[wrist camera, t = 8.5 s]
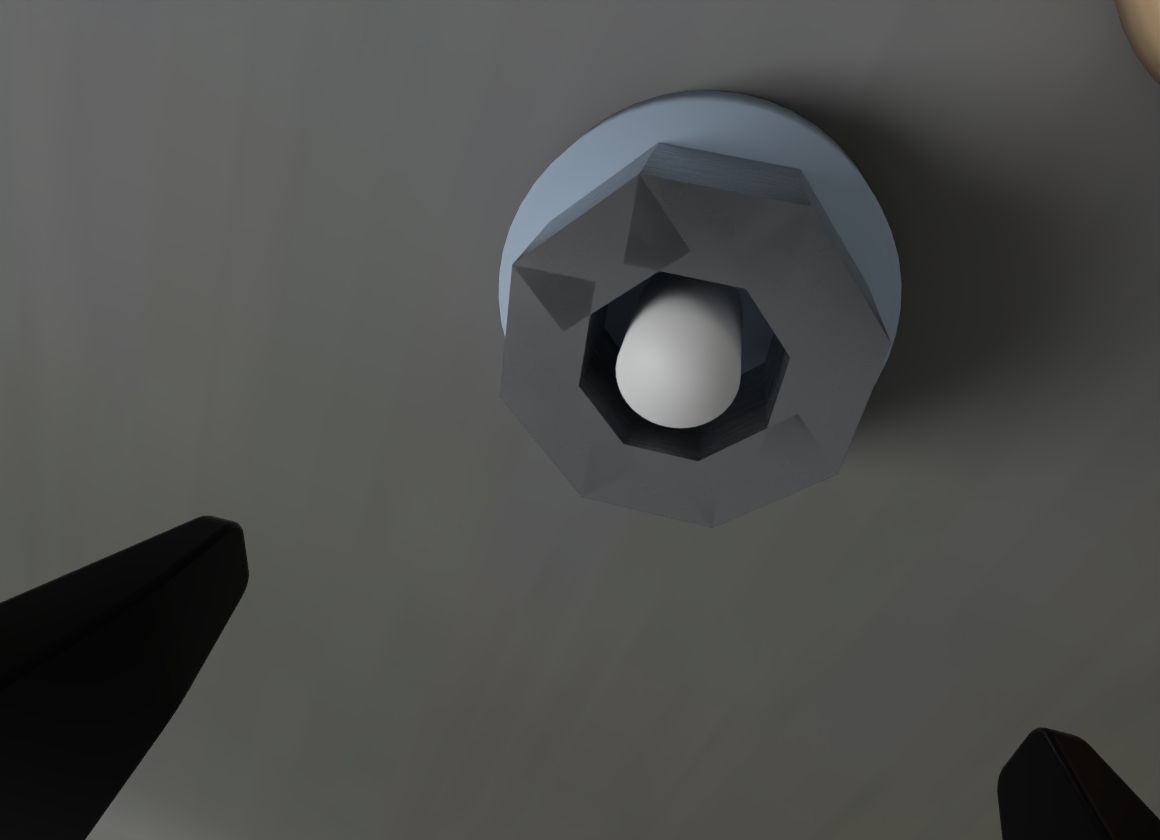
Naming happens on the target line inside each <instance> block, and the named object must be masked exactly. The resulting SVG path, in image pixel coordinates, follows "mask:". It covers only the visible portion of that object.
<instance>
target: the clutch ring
mask: <svg viewBox="0 0 1160 840" xmlns="http://www.w3.org/2000/svg"><path fill="white" fill-rule="evenodd" d="M659 271H662V272H666V273H671V274H676V275H681V276H686V277H691V278H696V279H700V280H705V281H710V282H715V283H720V284H725V285H729V286H734V287H739V288H744V289H746V290H747V291H748V293H749V294H750V296H751V297H752V299H753V300H754V302H755V304H756V305H757V307H758V308H759V310H760V311H761V313H762V314H763V316H764V317H765V319H766V321H767V322H768V324H769V325H770V327H771V328H772V330H773V331H774V334H773V337H772V340H771V344H770V347H769V350H768V353H767V356H766V360H765V362H764V363H762V364H760V365H758V366H757V367H755V368H753V369H751V370H749V371H747V372H745V373H743V374H741V378H740V385H739V389H738V392H737V394H736V396H735V398H734V400H733V402H732V403H731V404H730V406H729V407H728V408H727V409H726V410H725V411H724V412H723V413H722V414H721V415H719V416H718V417H717V418H715V419H713V420H712V421H710V422H707V423H705V424H702V425H699V426H696V427H690V428H671V427H665V426H661V425H658V424H655V423H653V422H651V421H649V420H647V419H645V418H643V417H642V416H640V415H639V414H638V413H636V412H635V411H634V410H633V409H632V408H631V407H630V406H629V404H628V403H627V402H626V401H625V399H624V397H623V396H622V394H621V392H620V390H619V387H618V383H617V378H616V363H617V358H618V354H619V352H620V348H619V347H618V346H617V344H616V343H615V342H614V340H613V339H612V337H611V336H610V335H609V333H608V332H607V331H606V329H605V328H604V327H605V321H606V315H607V309H608V303H610V302H611V301H613V300H614V299H616V298H617V297H619V296H621V295H622V294H624V293H625V292H627V291H629V290H630V289H632V288H633V287H635V286H636V285H638V284H640V283H641V282H643V281H644V280H646V279H648V278H649V277H651V276H652V275H654V274H655V273H657V272H659ZM890 346H891V342H890V339H889V337H888V334H887V332H886V329H885V327H884V324H883V322H882V319H881V316H880V314H879V311H878V309H877V306H876V304H875V301H874V299H873V296H872V293H871V291H870V288H869V286H868V284H867V282H866V281H865V279H864V277H863V275H862V274H861V272H860V270H859V269H858V267H857V265H856V263H855V262H854V260H853V258H852V257H851V255H850V253H849V251H848V250H847V248H846V246H845V244H844V243H843V241H842V239H841V238H840V236H839V234H838V232H837V231H836V229H835V227H834V225H833V224H832V222H831V220H830V219H829V217H828V215H827V213H826V212H825V210H824V208H823V207H822V205H821V203H820V201H819V200H818V198H817V196H816V194H815V193H814V191H813V189H812V188H811V186H810V184H809V182H808V181H807V179H806V177H805V175H804V174H803V172H802V170H801V169H798V168H793V167H788V166H782V165H777V164H772V163H766V162H761V161H756V160H750V159H745V158H740V157H735V156H729V155H724V154H719V153H713V152H708V151H703V150H697V149H692V148H687V147H681V146H676V145H671V144H666V143H660V142H658V143H657V144H655V145H654V146H653V147H651V148H650V149H649V150H647V151H646V152H644V153H643V154H642V155H640V156H639V157H638V158H636V159H635V160H633V161H632V162H631V163H629V164H628V165H627V166H625V167H624V168H622V169H621V170H620V171H618V172H617V173H616V174H614V175H613V176H611V177H610V178H609V179H607V180H606V181H605V182H603V183H602V184H600V185H599V186H598V187H596V188H595V189H594V190H592V191H591V192H589V193H588V194H587V195H585V196H584V197H583V198H581V199H580V200H578V201H577V202H576V203H574V204H573V205H571V206H570V207H569V208H567V209H566V210H565V211H563V212H562V213H560V214H559V215H558V216H556V217H555V218H554V219H552V220H551V221H550V222H549V223H548V224H547V225H546V226H545V227H544V228H543V230H542V231H541V232H540V233H539V234H538V235H537V237H536V238H535V239H534V240H533V241H532V242H531V243H530V245H529V246H528V247H527V248H526V249H525V250H524V251H523V253H522V254H521V255H520V256H519V257H518V258H517V260H516V261H515V262H514V263H513V264H512V272H511V282H510V293H509V304H508V314H507V325H506V336H505V346H504V357H503V368H502V378H501V389H500V398H501V399H502V400H503V402H504V403H505V404H506V405H507V406H508V408H509V409H510V410H511V411H512V413H513V414H514V415H515V416H516V417H517V419H518V420H519V421H520V422H521V424H522V425H523V426H524V427H525V428H526V430H527V431H528V432H529V433H530V434H531V436H532V437H533V438H534V439H535V441H536V442H537V443H538V444H539V445H540V447H541V448H542V449H543V450H544V452H545V453H546V454H547V455H548V456H549V458H550V459H551V460H552V461H553V463H554V464H555V465H556V466H557V467H558V469H559V470H560V471H561V472H562V474H563V475H564V476H565V477H566V478H567V480H568V481H569V482H570V483H571V485H572V486H573V487H574V488H575V489H576V491H577V492H578V493H579V494H580V496H581V497H584V498H588V499H592V500H597V501H601V502H605V503H609V504H613V505H617V506H622V507H626V508H630V509H634V510H638V511H642V512H647V513H651V514H655V515H659V516H663V517H667V518H672V519H676V520H680V521H684V522H688V523H693V524H697V525H701V526H705V527H709V528H713V527H716V526H718V525H720V524H723V523H725V522H727V521H730V520H732V519H734V518H737V517H739V516H741V515H744V514H746V513H748V512H751V511H753V510H755V509H758V508H760V507H762V506H765V505H767V504H769V503H772V502H774V501H776V500H779V499H781V498H783V497H786V496H788V495H790V494H793V493H795V492H797V491H800V490H802V489H805V488H807V487H809V486H812V485H814V484H816V483H819V482H821V481H823V480H826V479H828V478H830V477H833V476H835V475H837V474H838V473H839V470H840V468H841V466H842V463H843V461H844V458H845V456H846V453H847V451H848V448H849V446H850V444H851V441H852V439H853V436H854V434H855V431H856V429H857V426H858V424H859V422H860V419H861V417H862V414H863V412H864V409H865V407H866V404H867V402H868V400H869V397H870V395H871V392H872V390H873V387H874V385H875V382H876V380H877V377H878V375H879V373H880V370H881V368H882V365H883V363H884V360H885V358H886V355H887V353H888V351H889V348H890Z"/></svg>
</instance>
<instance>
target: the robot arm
mask: <svg viewBox="0 0 1160 840" xmlns="http://www.w3.org/2000/svg"><path fill="white" fill-rule="evenodd" d="M248 578H249V570H248V562H247V555H246V548H245V541H244V534H243V529H242V528H241V526H240V525H239V524H238V523H236V522H233V521H230V520H226V519H222V518H218V517H214V516H202V517H199V518H196V519H194V520H191V521H189V522H187V523H184V524H182V525H180V526H177V527H175V528H173V529H170V530H168V531H166V532H163V533H161V534H159V535H156V536H154V537H152V538H149V539H147V540H145V541H143V542H140V543H138V544H136V545H133V546H131V547H129V548H126V549H124V550H122V551H119V552H117V553H115V554H112V555H110V556H108V557H105V558H103V559H101V560H98V561H96V562H94V563H92V564H89V565H87V566H85V567H82V568H80V569H78V570H75V571H73V572H71V573H68V574H66V575H64V576H61V577H59V578H57V579H54V580H52V581H50V582H47V583H45V584H43V585H41V586H38V587H36V588H34V589H31V590H29V591H27V592H24V593H22V594H20V595H17V596H15V597H13V598H10V599H8V600H6V601H3V602H1V603H0V840H85V839H86V838H87V836H88V835H89V833H90V832H91V831H92V829H93V828H94V826H95V825H96V824H97V822H98V821H99V819H100V818H101V817H102V815H103V814H104V812H105V811H106V809H107V808H108V807H109V805H110V804H111V802H112V801H113V800H114V798H115V797H116V795H117V794H118V793H119V791H120V790H121V788H122V787H123V786H124V784H125V783H126V781H127V780H128V779H129V777H130V776H131V774H132V773H133V772H134V770H135V769H136V767H137V766H138V765H139V763H140V762H141V760H142V759H143V757H144V756H145V755H146V753H147V752H148V750H149V749H150V748H151V746H152V745H153V743H154V742H155V741H156V739H157V738H158V736H159V735H160V734H161V732H162V731H163V729H164V728H165V726H166V725H167V723H168V722H169V721H170V719H171V718H172V716H173V715H174V713H175V712H176V710H177V709H178V707H179V705H180V704H181V702H182V700H183V699H184V697H185V696H186V694H187V692H188V691H189V689H190V687H191V685H192V684H193V682H194V680H195V678H196V677H197V675H198V673H199V671H200V670H201V668H202V666H203V664H204V663H205V661H206V659H207V657H208V656H209V654H210V652H211V650H212V648H213V647H214V645H215V643H216V641H217V640H218V638H219V636H220V634H221V633H222V631H223V629H224V627H225V626H226V624H227V622H228V620H229V619H230V617H231V615H232V613H233V612H234V610H235V608H236V606H237V605H238V603H239V601H240V599H241V598H242V596H243V594H244V592H245V589H246V587H247V583H248ZM997 792H998V803H999V812H1000V821H1001V830H1002V839H1003V840H1160V819H1159V818H1158V817H1157V816H1156V815H1155V814H1154V813H1153V812H1152V811H1151V810H1150V809H1149V808H1148V807H1147V806H1146V805H1145V803H1144V802H1143V801H1142V800H1141V799H1140V798H1139V797H1138V796H1137V795H1136V794H1135V793H1134V792H1133V791H1132V790H1131V789H1130V788H1129V786H1128V785H1127V784H1126V783H1125V782H1124V781H1123V780H1122V779H1121V778H1120V777H1119V776H1118V775H1117V774H1116V773H1115V772H1114V771H1113V770H1112V768H1111V767H1110V766H1109V765H1108V764H1107V763H1106V762H1105V761H1104V760H1103V759H1102V758H1101V757H1100V756H1099V755H1098V754H1097V753H1096V751H1095V750H1094V749H1093V748H1092V747H1091V746H1090V745H1089V744H1088V743H1087V742H1086V741H1084V740H1083V739H1081V738H1080V737H1077V736H1075V735H1072V734H1068V733H1064V732H1060V731H1056V730H1052V729H1048V728H1037V729H1035V730H1033V731H1032V732H1031V733H1030V734H1029V735H1028V736H1027V737H1026V739H1025V740H1024V741H1023V743H1022V744H1021V745H1020V746H1019V748H1018V749H1017V750H1016V752H1015V753H1014V754H1013V755H1012V757H1011V758H1010V759H1009V761H1008V762H1007V763H1006V765H1005V766H1004V767H1003V769H1002V771H1001V773H1000V776H999V779H998V788H997Z"/></svg>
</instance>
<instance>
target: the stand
mask: <svg viewBox="0 0 1160 840" xmlns="http://www.w3.org/2000/svg"><path fill="white" fill-rule="evenodd" d="M1115 3H1116V7H1117V10H1118V13H1119V17H1120V20H1121V24H1122V27H1123V30H1124V32H1125V34H1126V36H1127V38H1128V40H1129V42H1130V44H1131V46H1132V48H1133V50H1134V52H1135V54H1136V56H1137V57H1138V58H1139V60H1140V61H1141V62H1142V64H1143V65H1144V66H1145V68H1146V69H1147V70H1148V72H1149V73H1150V75H1151V76H1152V77H1153V78H1154V79H1155V80H1156V81H1157V82H1158V83H1159V84H1160V0H1115Z"/></svg>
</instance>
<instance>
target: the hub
mask: <svg viewBox="0 0 1160 840" xmlns="http://www.w3.org/2000/svg"><path fill="white" fill-rule="evenodd" d="M658 142H660V143H666V144H671V145H676V146H681V147H687V148H692V149H697V150H703V151H708V152H713V153H719V154H724V155H729V156H735V157H740V158H745V159H750V160H756V161H761V162H766V163H772V164H777V165H782V166H788V167H793V168H798V169H801V170H802V172H803V174H804V175H805V177H806V179H807V181H808V182H809V184H810V186H811V188H812V189H813V191H814V193H815V194H816V196H817V198H818V200H819V201H820V203H821V205H822V207H823V208H824V210H825V212H826V213H827V215H828V217H829V219H830V220H831V222H832V224H833V225H834V227H835V229H836V231H837V232H838V234H839V236H840V238H841V239H842V241H843V243H844V244H845V246H846V248H847V250H848V251H849V253H850V255H851V257H852V258H853V260H854V262H855V263H856V265H857V267H858V269H859V270H860V272H861V274H862V275H863V277H864V279H865V281H866V282H867V284H868V286H869V288H870V291H871V293H872V296H873V299H874V301H875V304H876V306H877V309H878V311H879V314H880V316H881V319H882V322H883V324H884V327H885V329H886V332H887V334H888V337H889V339H890V342H891V346H890V348H889V351H888V353H887V355H886V358H885V360H884V363H883V365H882V368H881V370H880V373H879V375H878V377H877V380H878V378H879V376H880V374H881V372H882V370H883V368H884V366H885V364H886V362H887V360H888V357H889V354H890V351H891V348H892V345H893V342H894V339H895V336H896V332H897V327H898V321H899V316H900V310H901V285H902V282H901V274H900V266H899V257H898V253H897V250H896V246H895V242H894V239H893V235H892V231H891V229H890V226H889V224H888V222H887V220H886V218H885V215H884V213H883V211H882V209H881V206H880V204H879V203H878V201H877V199H876V198H875V196H874V194H873V193H872V191H871V189H870V187H869V186H868V184H867V182H866V181H865V179H864V178H863V176H862V175H861V173H860V172H859V170H858V169H857V167H856V165H855V164H854V162H853V161H852V160H851V159H850V157H849V156H848V155H847V154H846V153H845V152H844V151H843V150H842V148H841V147H840V146H839V145H838V144H837V143H836V142H835V141H834V140H833V139H832V138H831V137H829V136H828V135H827V134H826V133H825V132H823V131H822V130H821V129H820V128H819V127H817V126H816V125H815V124H813V123H812V122H810V121H808V120H807V119H805V118H804V117H802V116H800V115H799V114H797V113H795V112H794V111H792V110H790V109H787V108H785V107H782V106H780V105H778V104H775V103H773V102H771V101H768V100H765V99H761V98H757V97H754V96H750V95H746V94H742V93H734V92H725V91H716V90H705V91H684V92H679V93H673V94H667V95H661V96H658V97H655V98H652V99H648V100H645V101H642V102H639V103H636V104H634V105H632V106H629V107H627V108H625V109H623V110H621V111H619V112H617V113H615V114H613V115H611V116H610V117H608V118H607V119H605V120H604V121H602V122H601V123H599V124H597V125H596V126H594V127H593V128H591V129H590V130H589V131H588V132H587V133H585V134H584V135H583V136H582V137H581V138H580V139H579V140H577V141H576V142H575V143H574V144H573V145H572V146H571V147H569V148H568V149H567V150H566V151H565V152H564V153H563V154H561V155H560V156H559V157H558V158H557V159H556V160H555V161H554V162H552V163H551V165H550V166H549V167H548V168H547V169H546V170H545V172H544V173H543V174H542V175H541V176H540V177H539V179H538V180H537V181H536V182H535V183H534V185H533V186H532V188H531V190H530V191H529V193H528V194H527V196H526V197H525V199H524V201H523V202H522V204H521V205H520V207H519V210H518V212H517V214H516V216H515V218H514V221H513V223H512V225H511V227H510V230H509V233H508V237H507V240H506V243H505V247H504V250H503V255H502V261H501V268H500V274H499V305H500V314H501V322H502V326H503V330H504V335H505V336H506V325H507V314H508V304H509V293H510V282H511V272H512V264H513V263H514V262H515V261H516V260H517V258H518V257H519V256H520V255H521V254H522V253H523V251H524V250H525V249H526V248H527V247H528V246H529V245H530V243H531V242H532V241H533V240H534V239H535V238H536V237H537V235H538V234H539V233H540V232H541V231H542V230H543V228H544V227H545V226H546V225H547V224H548V223H549V222H550V221H551V220H552V219H554V218H555V217H556V216H558V215H559V214H560V213H562V212H563V211H565V210H566V209H567V208H569V207H570V206H571V205H573V204H574V203H576V202H577V201H578V200H580V199H581V198H583V197H584V196H585V195H587V194H588V193H589V192H591V191H592V190H594V189H595V188H596V187H598V186H599V185H600V184H602V183H603V182H605V181H606V180H607V179H609V178H610V177H611V176H613V175H614V174H616V173H617V172H618V171H620V170H621V169H622V168H624V167H625V166H627V165H628V164H629V163H631V162H632V161H633V160H635V159H636V158H638V157H639V156H640V155H642V154H643V153H644V152H646V151H647V150H649V149H650V148H651V147H653V146H654V145H655V144H657V143H658ZM604 328H605V329H606V331H607V332H608V333H609V335H610V336H611V337H612V339H613V340H614V342H615V343H616V344H617V346H618V347H619V348H620V352H619V354H618V358H617V363H616V378H617V383H618V387H619V390H620V392H621V394H622V396H623V397H624V399H625V401H626V402H627V403H628V404H629V406H630V407H631V408H632V409H633V410H634V411H635V412H636V413H638V414H639V415H640V416H642V417H643V418H645V419H647V420H649V421H651V422H653V423H655V424H658V425H661V426H665V427H671V428H690V427H696V426H699V425H702V424H705V423H707V422H710V421H712V420H713V419H715V418H717V417H718V416H719V415H721V414H722V413H723V412H724V411H725V410H726V409H727V408H728V407H729V406H730V404H731V403H732V402H733V400H734V398H735V396H736V394H737V392H738V389H739V385H740V378H741V374H743V373H745V372H747V371H749V370H751V369H753V368H755V367H757V366H758V365H760V364H762V363H764V362H765V360H766V356H767V353H768V350H769V347H770V344H771V340H772V337H773V334H774V331H773V330H772V328H771V327H770V325H769V324H768V322H767V321H766V319H765V317H764V316H763V314H762V313H761V311H760V310H759V308H758V307H757V305H756V304H755V302H754V300H753V299H752V297H751V296H750V294H749V293H748V291H747V290H746V289H744V288H739V287H734V286H729V285H725V284H720V283H715V282H710V281H705V280H700V279H696V278H691V277H686V276H681V275H676V274H671V273H666V272H662V271H659V272H657V273H655V274H654V275H652V276H651V277H649V278H648V279H646V280H644V281H643V282H641V283H640V284H638V285H636V286H635V287H633V288H632V289H630V290H629V291H627V292H625V293H624V294H622V295H621V296H619V297H617V298H616V299H614V300H613V301H611V302H610V303H608V309H607V315H606V321H605V327H604ZM877 380H876V382H877ZM876 382H875V383H876Z"/></svg>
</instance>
